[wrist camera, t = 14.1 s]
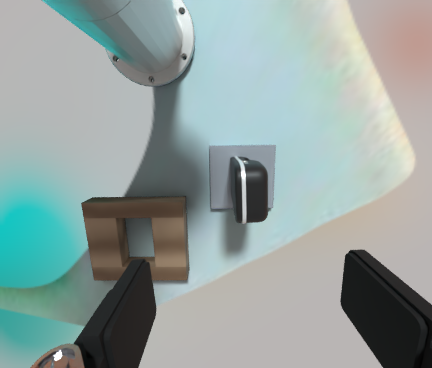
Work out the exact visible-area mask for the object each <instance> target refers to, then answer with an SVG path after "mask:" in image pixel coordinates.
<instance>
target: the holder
mask: <svg viewBox="0 0 432 368" xmlns="http://www.w3.org/2000/svg"><path fill="white" fill-rule="evenodd" d="M81 204H82V210H83V216H84V222H85V228H86V234H87V240H88V246H89V252H90V258H91V264H92V270H93V276H94V280H119V279H120V277H121V276H122V274H123V273H124V271H125V270H126V268H127V266H128V265H129V263H130V262H131V261H132V260H133V259H145V260H146V262H149V263H150V269H151V276H152V280H187V277H188V273H189V252H188V233H187V213H186V196H184V197H101V198H100V197H97V198H96V197H95V198H91V199H89V200H87V201H85V202H83V203H81ZM125 218H151V220H152V231H153V242H154V253H155V257H129V249H128V241H127V233H126V224H125Z"/></svg>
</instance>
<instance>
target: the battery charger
mask: <svg viewBox="0 0 432 368" xmlns="http://www.w3.org/2000/svg"><path fill="white" fill-rule="evenodd" d="M230 169H231V196H232V202H233V208H234V214H235V219H236V222H237V223H242V224H246V223H252V222H262V221H264V220H265V219H266V218H267V215H268V172H267V170H266V168H265V167H264V165H262V164H261V163H260V162H259V161H256V160H249V159H248V158H246V157H237V156H235V157H231V158H230Z"/></svg>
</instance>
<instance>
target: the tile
mask: <svg viewBox="0 0 432 368" xmlns="http://www.w3.org/2000/svg"><path fill="white" fill-rule="evenodd" d="M275 151H276V145H229V146H210V188H211V209H221V208H233V202H232V196H231V169H230V158H231V157H235V156H237V157H246V158H248V159H249V160H256V161H259V162H260V163H261V164H262V165H264V167H265V168H266V170H267V172H268V208H273V196H274V174H275Z"/></svg>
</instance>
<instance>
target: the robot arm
mask: <svg viewBox="0 0 432 368" xmlns="http://www.w3.org/2000/svg"><path fill="white" fill-rule="evenodd" d="M42 1H43V2H45V3H46V4H47V5H49V6H50V7H51V8H52V9H54V10H55V11H56V12H58V13H59V14H60V15H62V16H63V17H64V18H66V19H67V20H68V21H70V22H71V23H72V24H74V25H75V26H76V27H78V28H79V29H81V30H82V31H83V32H85V33H86V34H87V35H89V36H90V37H91V38H93V39H94V40H95V41H97V42H98V43H99V44H101V45H102V46H103V47H105V49H106V52H107V54H108V56H109V58H110V60H111V62H112V63H113V65H114V66H115V67H116V68H117V69H118V71H119V72H120V73H122V74H123V75H124V76H125V77H126V78H128V79H130V80H131V81H133V82H135V83H138V84H140V85H144V86H154V87H156V86H162V85H165V84H168V83H170V82H172V81H174V80H175V79H177V78H178V77H179V76H180V75H181V74H182V73H183V72H184V71H185V69H186V68H187V66H188V65H189V63H190V60H191V58H192V56H193V51H194V47H195V33H194V26H193V22H192V18H191V16H190V13H189V11H188V9H187V7H186V5H185V4H184V2H183V1H182V0H42ZM182 13H184V14H183V15H181V14H182ZM184 57H186V60H183V58H184ZM118 59H119V61H118V62H117V60H118ZM152 79H154V82H152ZM341 306H342V309H343V310H344V312H345V313H346V314H347V316H348V318H349V319H350V321H351V322H352V323H353V325H354V326H355V327H356V329H357V331H358V332H359V333H360V335H361V336H362V338H363V339H364V341H365V342H366V343H367V345H368V347H369V348H370V349H371V351H372V352H373V353H374V355H375V357H376V358H377V359H378V361H379V362H380V364H381V365H382V367H383V368H432V305H431V304H430V303H429V302H427V301H426V300H425V299H424V298H422V297H421V296H420V295H419V294H418V293H417V292H415V291H414V290H413V289H412V288H410V287H409V286H408V285H407V284H406V283H404V282H403V281H402V280H401V279H399V278H398V277H397V276H396V275H395V274H393V273H392V272H391V271H390V270H389V269H387V268H386V267H385V266H384V265H382V264H381V263H380V262H379V261H378V260H376V259H375V258H373V256H371V255H370V254H369V253H368V252H366V251H365V250H350V251H349V253H348V254H346V255H345V263H344V272H343V282H342V292H341ZM155 316H156V303H155V296H154V289H153V283H152V276H151V269H150V263H149V262H146V260H145V259H133V260H132V261H131V262H130V263H129V265H128V266H127V268H126V270H125V271H124V273H123V274H122V276H121V277H120V279H119V280H118V282H117V283H116V285H115V286H114V288H113V289H112V290H110V291H109V292H108V293H107V295H106V296H105V298H104V299H103V301H102V302H101V304H100V305H99V307H98V308H97V310H96V311H95V313H94V314H93V316H92V317H91V319H90V320H89V322H88V323H87V325H86V326H85V328H84V329H83V330H82V332H81V334H80V335H79V336H78V338H77V339H76V341H75V342H74V344H64V345H60V346H58V347H56V348H53V349H51V350H50V351H48V352H47V353H45V354H44V355H43V356H41V357H40V358H39V359H38V360H37V361H36V362H35V363H34V364H33V365H32V366H31V368H138V367H139V364H140V361H141V358H142V355H143V352H144V349H145V346H146V343H147V340H148V337H149V334H150V331H151V328H152V325H153V322H154V319H155Z"/></svg>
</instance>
